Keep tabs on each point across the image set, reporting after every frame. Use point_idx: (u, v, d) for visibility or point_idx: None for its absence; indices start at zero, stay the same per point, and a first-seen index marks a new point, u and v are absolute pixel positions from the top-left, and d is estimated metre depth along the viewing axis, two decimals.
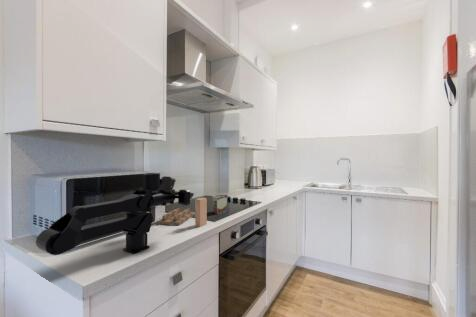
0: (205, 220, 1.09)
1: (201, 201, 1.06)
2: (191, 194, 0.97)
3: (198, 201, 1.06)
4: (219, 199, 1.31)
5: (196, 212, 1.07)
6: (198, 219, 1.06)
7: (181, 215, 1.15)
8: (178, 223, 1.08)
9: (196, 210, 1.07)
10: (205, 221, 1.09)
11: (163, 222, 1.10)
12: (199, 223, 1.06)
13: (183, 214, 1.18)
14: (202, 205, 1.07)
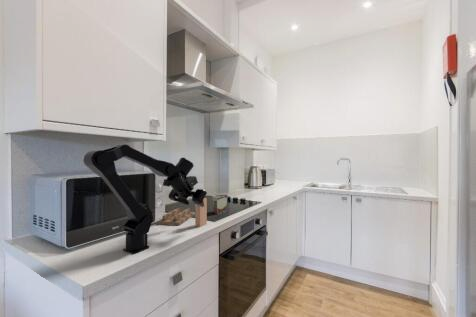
0: (205, 220, 1.09)
1: None
2: (203, 203, 1.01)
3: None
4: (219, 199, 1.31)
5: (196, 212, 1.07)
6: (198, 219, 1.06)
7: (181, 215, 1.15)
8: (178, 223, 1.08)
9: (196, 210, 1.07)
10: (205, 221, 1.09)
11: (163, 222, 1.10)
12: (199, 223, 1.06)
13: (183, 214, 1.18)
14: None
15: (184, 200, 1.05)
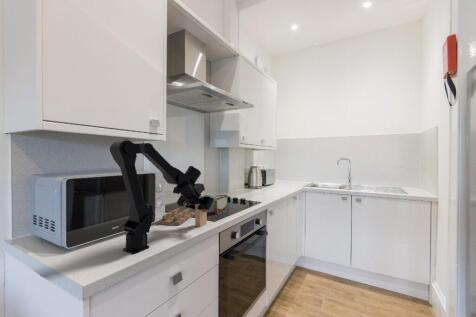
0: (205, 220, 1.09)
1: None
2: None
3: None
4: (219, 199, 1.31)
5: (195, 212, 1.07)
6: (198, 219, 1.06)
7: (181, 215, 1.15)
8: (178, 223, 1.08)
9: (196, 210, 1.07)
10: (205, 221, 1.09)
11: (163, 222, 1.10)
12: (199, 223, 1.06)
13: (183, 214, 1.18)
14: None
15: None
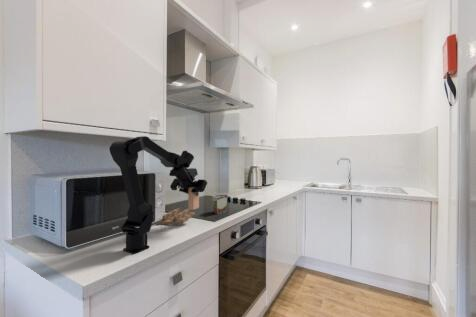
0: (198, 203, 1.14)
1: None
2: (197, 192, 1.12)
3: None
4: (219, 199, 1.31)
5: (189, 196, 1.11)
6: (191, 202, 1.11)
7: (181, 215, 1.15)
8: (178, 223, 1.08)
9: (189, 194, 1.11)
10: (198, 204, 1.14)
11: (163, 222, 1.10)
12: (192, 206, 1.11)
13: (183, 214, 1.18)
14: None
15: None
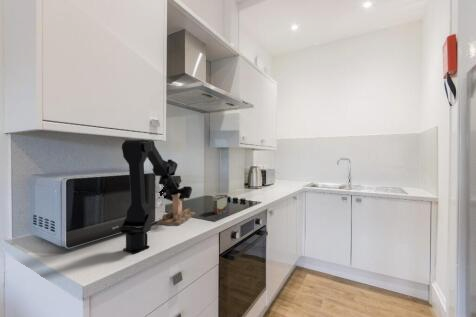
0: (181, 211, 1.20)
1: (178, 194, 1.17)
2: (183, 198, 1.19)
3: None
4: (219, 199, 1.31)
5: (173, 204, 1.17)
6: (176, 211, 1.17)
7: (181, 215, 1.15)
8: (178, 223, 1.08)
9: (173, 203, 1.17)
10: None
11: (163, 222, 1.10)
12: None
13: (183, 214, 1.18)
14: None
15: (171, 197, 1.18)
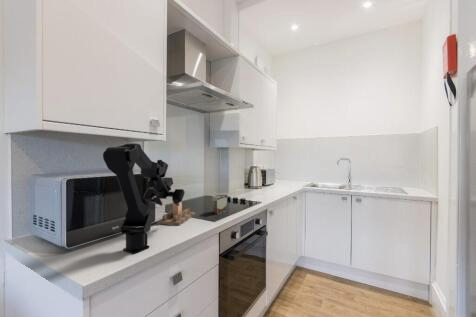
0: (181, 211, 1.20)
1: None
2: None
3: None
4: (219, 199, 1.31)
5: (173, 204, 1.17)
6: (176, 211, 1.17)
7: (181, 215, 1.15)
8: (178, 223, 1.08)
9: (173, 203, 1.17)
10: None
11: (163, 222, 1.10)
12: None
13: (183, 214, 1.18)
14: None
15: (158, 201, 1.09)
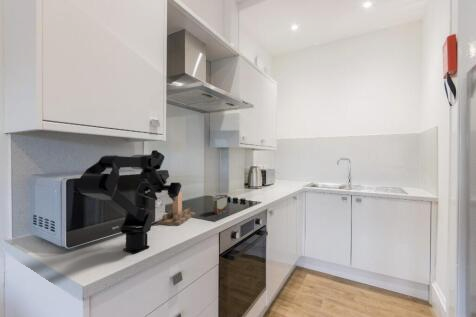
0: (181, 211, 1.20)
1: (178, 194, 1.17)
2: (175, 197, 1.00)
3: None
4: (219, 199, 1.31)
5: (173, 204, 1.17)
6: (176, 211, 1.17)
7: (181, 215, 1.15)
8: (178, 223, 1.08)
9: (173, 203, 1.17)
10: None
11: (163, 222, 1.10)
12: None
13: (183, 214, 1.18)
14: (179, 198, 1.18)
15: (153, 195, 1.01)
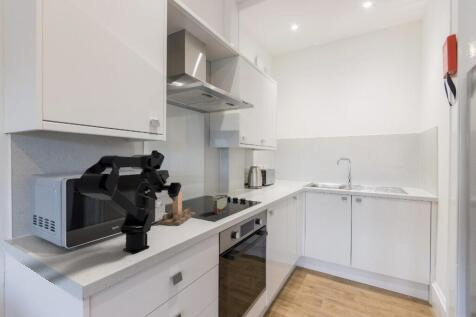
0: (181, 211, 1.20)
1: (178, 194, 1.17)
2: (175, 197, 1.00)
3: None
4: (219, 199, 1.31)
5: (173, 204, 1.17)
6: (176, 211, 1.17)
7: (181, 215, 1.15)
8: (178, 223, 1.08)
9: (173, 203, 1.17)
10: None
11: (163, 222, 1.10)
12: None
13: (183, 214, 1.18)
14: (179, 198, 1.18)
15: (153, 195, 1.01)
